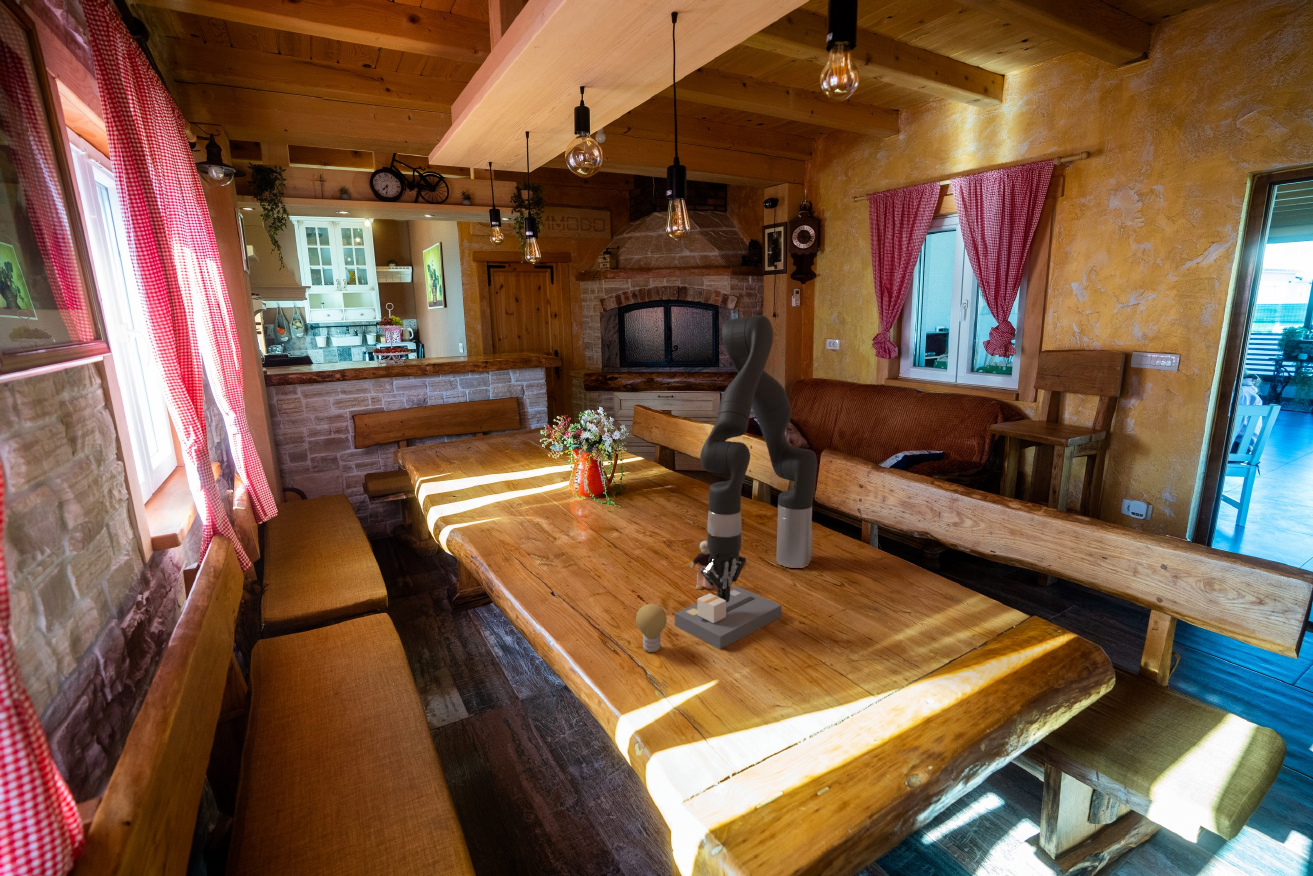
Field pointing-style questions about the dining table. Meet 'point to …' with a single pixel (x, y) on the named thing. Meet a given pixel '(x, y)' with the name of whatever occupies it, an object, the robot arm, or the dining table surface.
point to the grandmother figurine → (702, 566)
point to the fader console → (730, 618)
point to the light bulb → (651, 625)
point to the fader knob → (711, 608)
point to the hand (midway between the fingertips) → (723, 601)
